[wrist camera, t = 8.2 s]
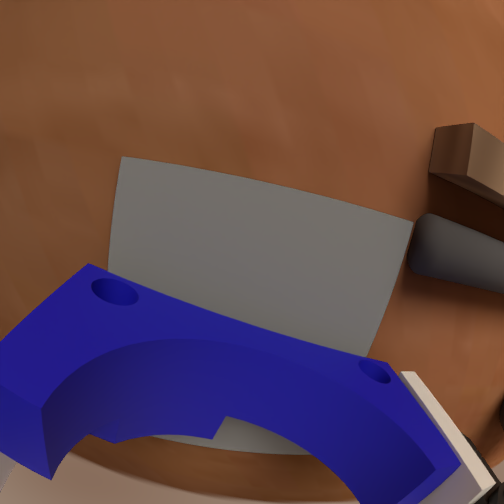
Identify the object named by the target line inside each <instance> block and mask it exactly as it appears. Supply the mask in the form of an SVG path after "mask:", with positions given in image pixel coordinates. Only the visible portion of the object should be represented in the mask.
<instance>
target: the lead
mask: <svg viewBox="0 0 504 504" xmlns="http://www.w3.org/2000/svg"><path fill="white" fill-rule="evenodd" d="M407 260H408V264H409V266H410V268H411V270H412V271H413V272H414V273H416V274H420V275H424V276H429V277H433V278H438V279H442V280H446V281H451V282H455V283H459V284H464V285H468V286H472V287H477V288H481V289H485V290H489V291H494V292H498V293H502V294H504V242H501V241H499V240H497V239H494V238H492V237H490V236H487V235H485V234H483V233H480V232H478V231H475V230H473V229H471V228H468V227H466V226H463V225H461V224H458V223H455V222H453V221H450V220H448V219H445V218H442V217H440V216H437V215H434V214H431V213H428V214H424V215H422V216H421V217H420V218H419V219H418V220H417V221H416V225H415V228H414V232H413V236H412V239H411V243H410V246H409V249H408V253H407Z"/></svg>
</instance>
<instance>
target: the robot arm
mask: <svg viewBox="0 0 504 504" xmlns="http://www.w3.org/2000/svg"><path fill="white" fill-rule="evenodd" d="M398 377H399V378H400V380H401V381H402V382H403V384H404V385H405V386H406V388H407V389H408V390H409V392H410V393H411V394H412V395H413V397H414V398H415V399H416V401H417V402H418V403H419V405H420V406H421V407H422V409H423V410H424V411H425V413H426V414H427V415H428V417H429V418H430V419H431V421H432V422H433V424H434V425H435V426H436V428H437V429H438V430H439V432H440V433H441V434H442V436H443V437H444V439H445V440H446V442H447V443H448V445H449V446H450V447H451V449H452V450H453V452H454V453H455V455H456V456H457V458H458V459H459V461H460V463H461V465H460V466H459V468H458V469H457V470H456V471H455V472H454V473H453V474H452V475H451V476H450V477H448V478H447V479H446V480H445V481H444V482H443V483H442V484H441V485H440V486H439V487H437V488H436V489H435V490H434V491H433V492H432V493H430V494H429V495H428V496H427V497H426V498H424V499H423V500H422V501H421V502H419V503H418V504H504V482H503V483H501V482H500V481H499V480H498V478H497V477H496V475H495V474H494V472H493V471H492V469H491V468H490V467H489V465H488V464H487V462H486V461H485V459H484V458H483V457H481V456H482V455H481V454H480V452H479V451H478V450H476V449H477V448H476V447H475V445H474V444H473V443H472V441H471V440H470V439H469V438H468V437H466V436H465V435H464V434H463V433H461V432H460V431H459V429H458V428H457V427H456V425H455V424H454V423H453V421H452V420H451V419H450V417H449V416H448V415H447V413H446V412H445V411H444V409H443V408H442V407H441V405H440V404H439V403H438V401H437V400H436V399H435V397H434V396H433V395H432V394H431V392H430V391H429V390H428V388H427V387H426V386H425V385H424V383H423V382H422V381H421V379H420V378H419V377H418V376H417V374H416V373H415V372H403V371H401V372H400V374H399V376H398ZM15 464H16V461H14V460H13V459H11V458H9V457H8V456H6V455H5V454H3V453H2V452H0V492H1V490H2V488H3V486H4V484H5V482H6V480H7V478H8V477H9V474H10V473H11V471H12V469H13V467H14V466H15Z"/></svg>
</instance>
